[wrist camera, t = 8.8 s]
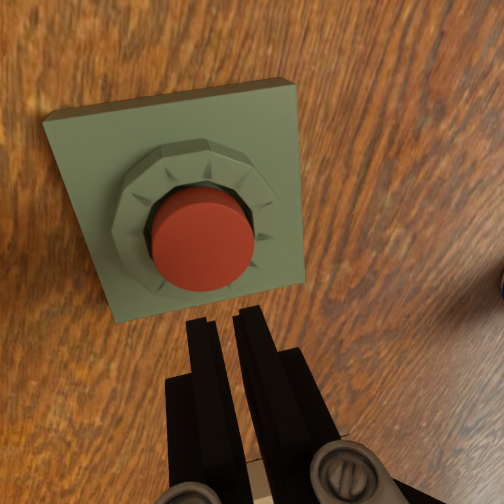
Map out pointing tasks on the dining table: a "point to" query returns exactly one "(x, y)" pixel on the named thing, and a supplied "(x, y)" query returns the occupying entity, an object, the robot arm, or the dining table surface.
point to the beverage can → (502, 286)
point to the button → (201, 239)
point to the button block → (183, 183)
